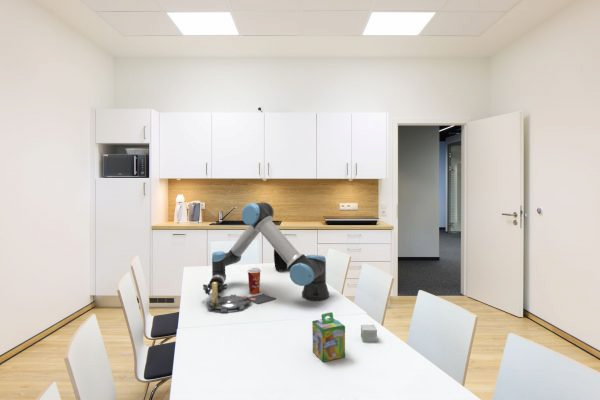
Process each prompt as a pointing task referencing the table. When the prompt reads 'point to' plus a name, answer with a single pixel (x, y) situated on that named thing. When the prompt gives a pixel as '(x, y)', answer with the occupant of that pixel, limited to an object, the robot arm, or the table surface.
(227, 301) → the sprocket
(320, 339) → the chalk box
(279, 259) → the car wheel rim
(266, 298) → the marked pad
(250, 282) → the paper cup
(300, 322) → the table surface
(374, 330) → the small box
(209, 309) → the sprocket base
